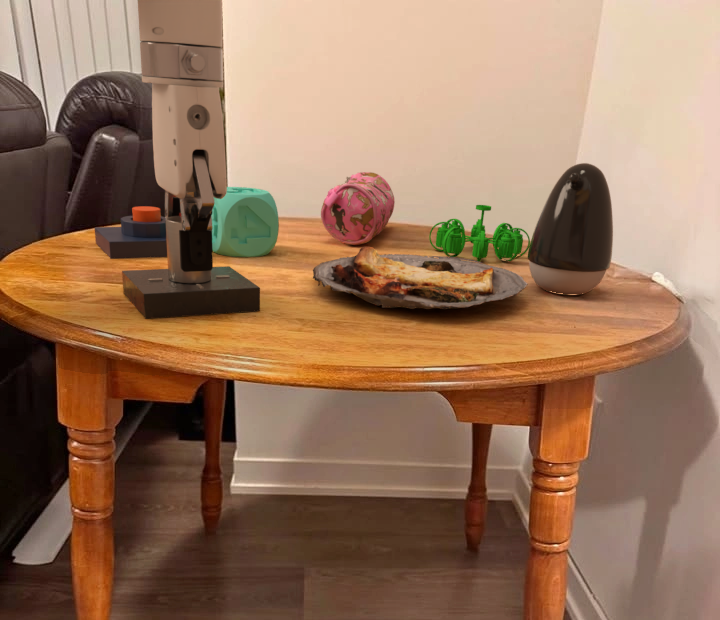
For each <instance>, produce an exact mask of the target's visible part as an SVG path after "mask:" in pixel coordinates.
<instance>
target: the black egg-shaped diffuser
mask: <svg viewBox="0 0 720 620" xmlns="http://www.w3.org/2000/svg"><path fill="white" fill-rule="evenodd" d="M606 178H607V177H606V176H605V174H604V173H603V171H602V170H601V169H600V168H599V167H598V166H596V165H595V164H592V163H588V162H581V163H577V164H574V165H571V166H570V167H568V168H567V169H566V170H565V171H564V172H563V173H562V174H561V176H560V177H559V178H558V179H557V181H556V182H555V184H554V185H553V187H552V189H551V190H550V193H549V195H548V196H547V198H546V201H545V203H544V204H543V208H542V210H541V212H540V214H539V217H538V219H537V221H536V224H535V227H534V231H533V233H532V236H531V238H530V246H529V248H528V250H527V251H528V252H527V257H526V258H527V260H528V261H529V262H528V263H529V264H528V265H529V271H530V275H531V277H532V280H533V281H534V283H535V284H536V285H537V286H538V287H539V288H541V289H542V290H543V291H545V290H547V291H546V292H548V291H552V292H556V293H563V294H581V295H583V294H582V293H584V294H587V293H589V292H591V291H592V290H594V289H595V288H597V287H598V285H599V284H600V283H601V282H602V280H603V278H605V277H604V276H605V275H606V273H607V270H609V269H610V267H611V263H612V257H613V245H614V221H613V218H614V217H613V206H612V205H613V204H612V198H611V192H610V191H611V190H610V188H609V184H608V181H607V179H606Z"/></svg>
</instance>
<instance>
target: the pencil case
mask: <svg viewBox="0 0 720 620" xmlns="http://www.w3.org/2000/svg"><path fill="white" fill-rule="evenodd" d="M345 179H346V180H345V181H344V183H342V184H337V185H335V186H334V187H331V188H330V189H329V190H328V191H327V194H326V196H325V198H324V200H323V202H322V206H321V210H320V217H321V218H320V219H321V222H322V225H323V227H324V229H325V230H326V231H327V232H328V234H329V235H330V236H331V237H332V238H334V239H335V240H336V241H338V242H340V243H342V244H344V245H350V246H352V245H353V246H357V245H363V244H367V243H369V242H370V241H372V239H373V238H375V237H377V236H378V235H379V234H380V233H381V232H382V231H384V229H385V228H386V226H387V225H388V223H389V221H390V219H391V217H392V215H393V212H394V208H395V204H396V203H395V202H396V201H395V196H394V192H393V190H392V187H391V186H390V184H389V183H388V181H387V180H386V179H385V178H384V177H383V176H382V175H379V174H378V173H375V172H371V171H364V172H363V171H361V172H357V173H355V174H351V175H350V176H346V177H345Z"/></svg>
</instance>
